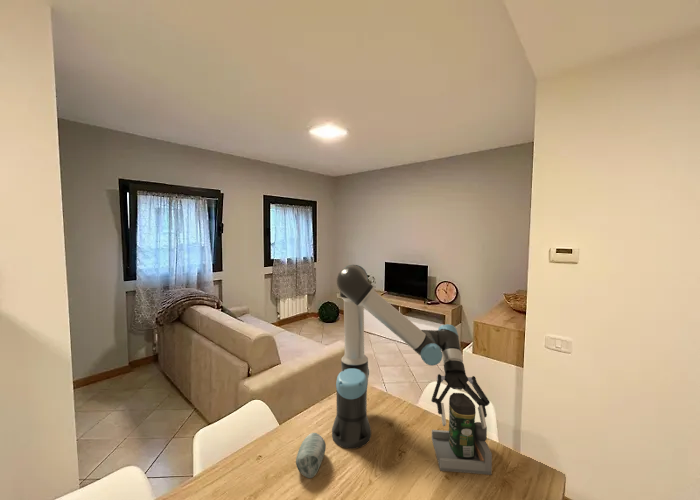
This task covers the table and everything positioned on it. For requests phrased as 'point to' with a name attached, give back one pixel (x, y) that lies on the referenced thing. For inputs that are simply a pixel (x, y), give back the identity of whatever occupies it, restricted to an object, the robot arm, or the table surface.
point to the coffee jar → (462, 425)
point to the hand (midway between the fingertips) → (464, 426)
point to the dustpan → (458, 464)
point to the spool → (310, 455)
